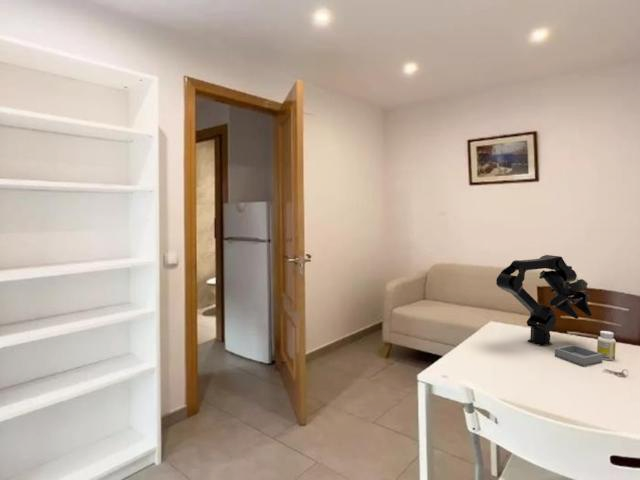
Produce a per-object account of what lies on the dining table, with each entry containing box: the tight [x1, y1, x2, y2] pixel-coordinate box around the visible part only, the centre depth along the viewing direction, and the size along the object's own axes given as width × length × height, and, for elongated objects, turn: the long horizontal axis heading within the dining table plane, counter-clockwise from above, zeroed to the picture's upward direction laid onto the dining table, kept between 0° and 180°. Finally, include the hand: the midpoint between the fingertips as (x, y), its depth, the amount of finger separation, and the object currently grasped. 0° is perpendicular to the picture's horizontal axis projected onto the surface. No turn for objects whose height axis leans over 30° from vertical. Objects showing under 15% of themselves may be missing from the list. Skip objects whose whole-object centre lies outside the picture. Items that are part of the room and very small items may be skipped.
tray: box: [554, 344, 604, 367], centre depth 142 cm, size 11×11×3 cm
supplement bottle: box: [596, 330, 617, 361], centre depth 143 cm, size 5×5×10 cm
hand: (584, 317), depth 149 cm, fingers open, 9 cm apart
